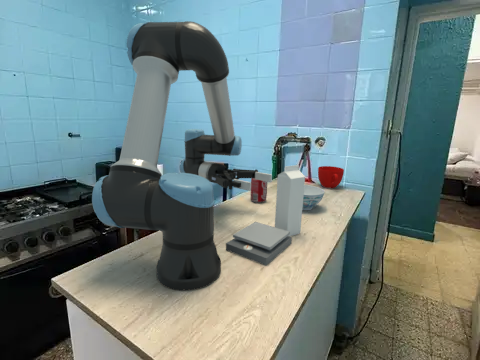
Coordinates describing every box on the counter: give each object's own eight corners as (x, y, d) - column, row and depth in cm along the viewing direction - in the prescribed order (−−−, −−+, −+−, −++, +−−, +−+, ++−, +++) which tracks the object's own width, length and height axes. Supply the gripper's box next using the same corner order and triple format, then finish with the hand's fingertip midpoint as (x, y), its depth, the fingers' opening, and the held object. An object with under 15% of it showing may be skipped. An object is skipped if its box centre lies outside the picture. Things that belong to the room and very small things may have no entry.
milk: (300, 233, 86) (306, 166, 81) (286, 237, 83) (292, 168, 78) (287, 226, 91) (292, 163, 86) (273, 230, 88) (278, 164, 83)
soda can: (266, 198, 120) (267, 172, 117) (266, 204, 114) (267, 176, 111) (250, 198, 121) (251, 172, 118) (249, 203, 114) (250, 175, 111)
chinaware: (284, 211, 105) (285, 192, 103) (286, 200, 119) (288, 183, 118) (323, 215, 102) (325, 196, 100) (321, 203, 116) (323, 186, 114)
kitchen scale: (266, 265, 68) (266, 251, 67) (225, 249, 75) (226, 237, 74) (291, 243, 80) (292, 231, 79) (254, 231, 87) (255, 220, 86)
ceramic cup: (321, 192, 133) (323, 172, 131) (314, 183, 150) (315, 165, 147) (348, 192, 133) (350, 173, 131) (337, 184, 149) (339, 166, 147)
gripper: (232, 176, 113) (277, 185, 101) (189, 189, 93) (239, 202, 81) (233, 158, 111) (279, 165, 99) (189, 168, 91) (240, 178, 79)
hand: (261, 182), depth 90 cm, fingers open, 13 cm apart
